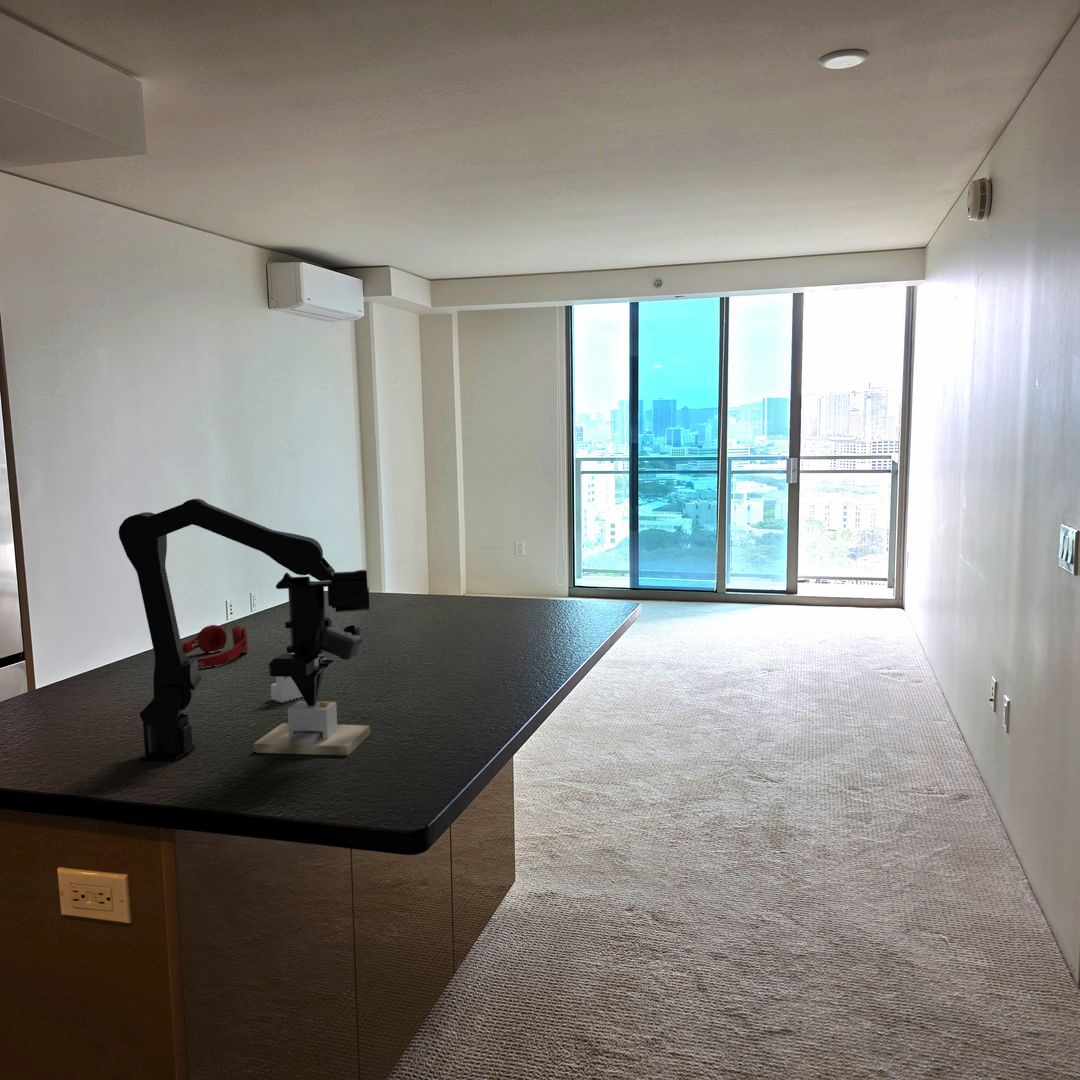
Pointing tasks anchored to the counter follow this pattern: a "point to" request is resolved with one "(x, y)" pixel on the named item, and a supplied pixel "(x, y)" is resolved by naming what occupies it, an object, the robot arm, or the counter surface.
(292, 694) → the white angled block
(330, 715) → the block
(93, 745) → the counter surface
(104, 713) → the counter surface
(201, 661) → the headphones
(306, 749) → the board
